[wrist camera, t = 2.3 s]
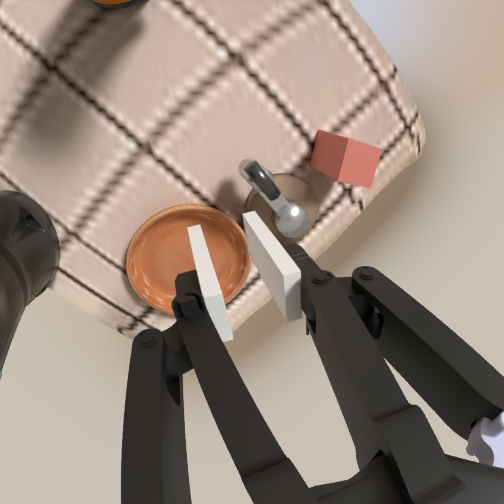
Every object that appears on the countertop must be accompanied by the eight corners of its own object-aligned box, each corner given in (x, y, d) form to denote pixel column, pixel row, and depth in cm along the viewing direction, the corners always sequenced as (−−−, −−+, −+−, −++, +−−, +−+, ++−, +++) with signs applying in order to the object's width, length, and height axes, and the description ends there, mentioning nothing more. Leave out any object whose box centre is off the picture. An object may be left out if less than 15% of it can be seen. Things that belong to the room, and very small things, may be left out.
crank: (307, 214, 37) (331, 236, 32) (283, 235, 38) (304, 260, 32) (249, 142, 31) (269, 153, 25) (221, 166, 31) (235, 182, 26)
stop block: (309, 166, 37) (337, 181, 31) (318, 129, 35) (348, 138, 29) (340, 172, 39) (370, 188, 33) (349, 138, 36) (381, 149, 31)
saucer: (104, 263, 36) (101, 275, 33) (185, 171, 33) (187, 178, 31) (192, 320, 44) (194, 333, 42) (268, 249, 42) (276, 259, 39)
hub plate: (239, 235, 39) (244, 244, 37) (252, 168, 35) (259, 174, 33) (300, 238, 42) (308, 247, 40) (316, 178, 38) (326, 184, 36)
